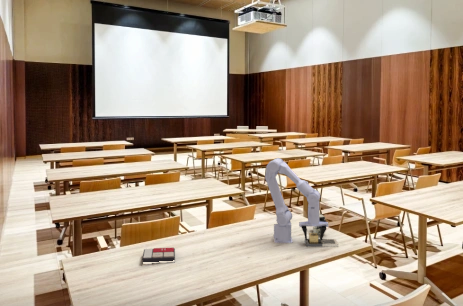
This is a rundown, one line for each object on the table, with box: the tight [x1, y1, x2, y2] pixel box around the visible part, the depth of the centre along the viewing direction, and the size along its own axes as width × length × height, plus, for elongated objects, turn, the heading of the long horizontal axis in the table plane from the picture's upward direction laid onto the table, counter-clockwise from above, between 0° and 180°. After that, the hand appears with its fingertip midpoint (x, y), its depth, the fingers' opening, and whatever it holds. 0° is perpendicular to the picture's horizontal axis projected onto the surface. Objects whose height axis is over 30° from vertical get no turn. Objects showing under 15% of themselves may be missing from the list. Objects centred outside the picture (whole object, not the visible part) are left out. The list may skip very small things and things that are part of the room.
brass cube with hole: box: [308, 232, 319, 244], centre depth 191 cm, size 4×4×5 cm
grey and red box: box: [141, 247, 176, 262], centre depth 179 cm, size 11×4×15 cm
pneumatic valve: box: [312, 213, 327, 235], centre depth 205 cm, size 6×12×12 cm, turn 15°
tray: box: [304, 238, 339, 248], centre depth 191 cm, size 16×7×2 cm, turn 86°
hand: (313, 239), depth 192 cm, fingers open, 7 cm apart
